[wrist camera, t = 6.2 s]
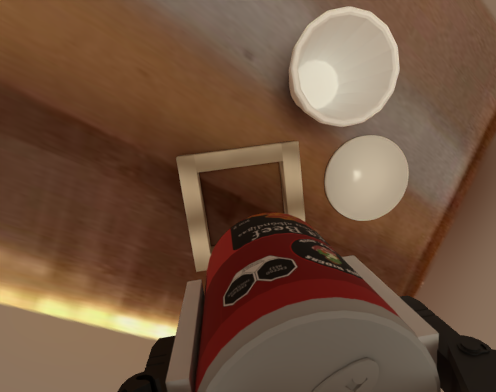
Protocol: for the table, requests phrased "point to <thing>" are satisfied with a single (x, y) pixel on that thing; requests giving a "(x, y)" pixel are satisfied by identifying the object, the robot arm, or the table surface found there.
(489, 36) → the table surface
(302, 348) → the canned food
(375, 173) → the coaster
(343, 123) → the cup
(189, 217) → the holder
